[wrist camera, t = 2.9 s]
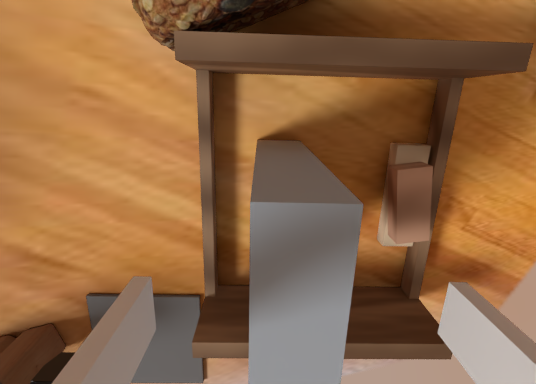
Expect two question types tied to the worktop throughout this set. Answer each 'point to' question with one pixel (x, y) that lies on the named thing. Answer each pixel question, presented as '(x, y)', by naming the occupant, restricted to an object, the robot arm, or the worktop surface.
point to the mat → (163, 338)
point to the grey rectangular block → (299, 266)
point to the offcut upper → (409, 202)
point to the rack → (439, 138)
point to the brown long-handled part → (28, 353)
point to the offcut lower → (397, 155)
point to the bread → (204, 15)
